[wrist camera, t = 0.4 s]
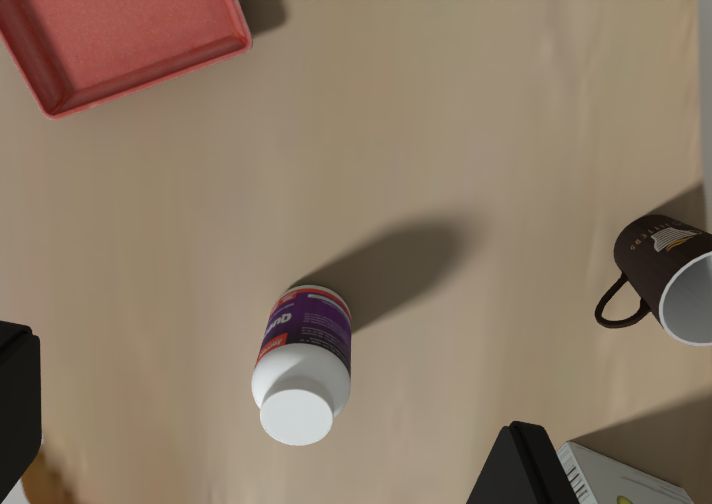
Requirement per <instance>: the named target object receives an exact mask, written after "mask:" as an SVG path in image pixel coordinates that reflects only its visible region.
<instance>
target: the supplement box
mask: <svg viewBox="0 0 712 504" xmlns="http://www.w3.org/2000/svg"><path fill="white" fill-rule="evenodd" d="M556 454H557V456H558V458H559V460H560V462H561V464H562V466H563V468H564V471H565V473H566V475H567V477H568V479H569V481H570V483H571V485H572V488H573V490H574V492H575V494H576V496H577V498H578V500H579V503H580V504H694V503H693V502H692V500H691V499H690V497H689V496H688V494H687V493H686V492H685V490H684V489H683V488H680V487H677V486H675V485H673V484H670V483H668V482H665V481H663V480H661V479H658V478H656V477H653V476H651V475H649V474H646V473H644V472H641V471H639V470H637V469H634V468H632V467H630V466H627V465H625V464H623V463H620V462H618V461H616V460H613V459H611V458H608V457H606V456H604V455H601V454H599V453H597V452H594V451H592V450H590V449H588V448H585V447H583V446H581V445H578V444H576V443H573V442H571V441H568V442H566V443H565V444H564V445H563V446H562V447H561V448H560V449H559V450H558V451H557V452H556Z"/></svg>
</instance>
